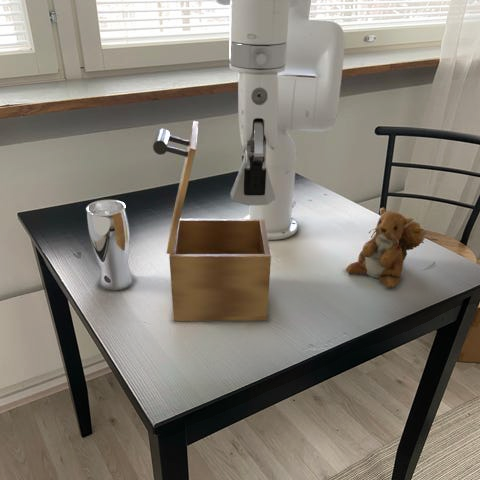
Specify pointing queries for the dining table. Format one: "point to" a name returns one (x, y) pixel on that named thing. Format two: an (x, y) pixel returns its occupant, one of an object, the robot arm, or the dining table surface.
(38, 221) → the dining table surface
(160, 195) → the dining table surface
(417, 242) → the stuffed squirrel
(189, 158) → the lid
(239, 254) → the chest
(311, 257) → the dining table surface
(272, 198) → the flask
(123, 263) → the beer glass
